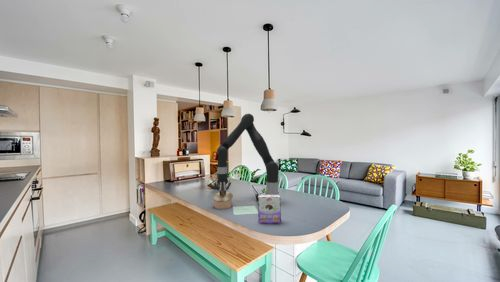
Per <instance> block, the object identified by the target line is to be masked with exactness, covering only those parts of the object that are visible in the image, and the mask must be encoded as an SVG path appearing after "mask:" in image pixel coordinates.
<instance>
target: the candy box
mask: <svg viewBox="0 0 500 282" xmlns="http://www.w3.org/2000/svg"><path fill="white" fill-rule="evenodd" d="M281 204H282V203H281V195H280V194H279V195H267V194H258V196H257V206H258V207H257V211H258V214H257V216H258V224H282V209H281Z"/></svg>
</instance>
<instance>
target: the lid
mask: <svg viewBox="0 0 500 282" xmlns="http://www.w3.org/2000/svg"><path fill="white" fill-rule="evenodd" d="M212 199H213V201H214V200H215V201H220V202H224V201H228V200H231V201H232V199H233V193H232V192H229V191H226V195H225V196H224V187H223V188H221V195H220V191H218V192H215V193H214V194H212Z"/></svg>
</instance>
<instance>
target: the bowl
mask: <svg viewBox="0 0 500 282" xmlns="http://www.w3.org/2000/svg"><path fill="white" fill-rule="evenodd" d="M213 201H214V203H213V205H214V208H215V209H216V210H226V209H230V208H232V199H231V200H228V201H224V202H220V201H215V200H214V199H213Z"/></svg>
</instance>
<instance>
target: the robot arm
mask: <svg viewBox="0 0 500 282" xmlns="http://www.w3.org/2000/svg"><path fill="white" fill-rule="evenodd" d="M254 121H255V118H254V116H253V114H251V113H245V114H244V115H242V116H241V119H240V122H239V123H238V125H237V126H236V127H235V129H233V131H231V132H230V134H229V135H228V136H227V137H226V138H225V140H224V141H223V142H222V143H221V144H220V145H219V146H218V147H217V149H216V154H217V157H218V159H217V169H216V171H217V181H216V182H214V183H213V185H214V187H215V188H216V191H218V192H220V195H221V189H222V187H223V188H224V196H225V195H226V192H227V190H229V189H230V187H231V185H232V182H231V181H229V179H228V150H229V149H230V148H231V147H232V146H233V145H234V144H235V143H236V142H237V140H239V138H240V136H241V135H242V134H243V133H244V132H245V130H246V132H247V134H248V136H249V138H250V141H251V143H252V144H253V146H254V149H255V150H256V151H257V153H258V155H259V156H260V158H261V159H262V161H263V164H264V166H265V170H266V180H265V181H266V183H265V185H266V188H265V189H266V195H280V192H279V165H278V163H277V162H276V161H275V160H274V159H273V157H272V155H271V153H270V150H269V148H268V145H267V142H266V141H265V139H264V138H263V136H262V134H261V133H260V132H259V131H258V130H257V128H256V126H255V124H254ZM218 186H219V187H218ZM226 186H227V187H226Z"/></svg>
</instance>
